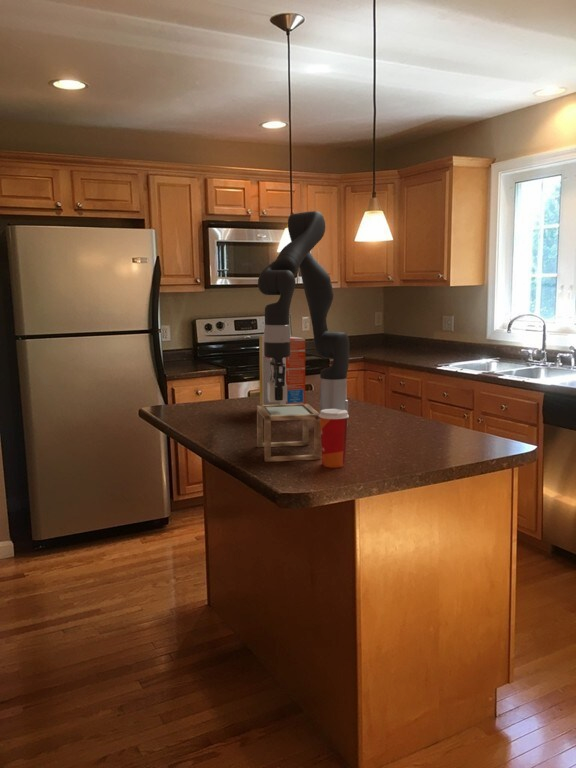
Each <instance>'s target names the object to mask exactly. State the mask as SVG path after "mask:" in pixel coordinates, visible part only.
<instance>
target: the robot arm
mask: <svg viewBox="0 0 576 768" xmlns="http://www.w3.org/2000/svg"><path fill="white" fill-rule="evenodd" d="M287 230H288V235H289V238H290V242H289V243H287V244H286V245H285V246H284V247H283V248H282V249H281V250H280V252H279V253H278V255H277V257H276V259H275V260H274V261H272V262H271V263H270V264H268V265H267V266H266V267H265V268H264V269H263V270H262V271H261V272H260V274H259V277H258V280H257V287H258V290H259V291H260V293H261V294H263V295H266V296H279V299H278V300H277V302H273V303H269V304H267V305H266V306H265V307H264V330H263V335H264V356H265V357H268V358H272V362H270V380H271V382H274V384H275V385H274V386H275V400H276V401H281V400H283V387H284V385H285V364H283V360H282V359H283V358H286V357H289V356H290V337H291V330H290V308H291V304H292V298H293V295H294V292H295V288H296V277H295V275H296V274H297V272H298V270H299V271H300V276H301V280H302V286H303V290H304V294H305V298H306V301H307V306H308V309H309V315H310V320H311V326H312V333H313V340H314V341H313V342H314V347H315V350H316V353H317V355H318V356H319V357H320V358H323V359H332V364H331V365H330V366H328V367H325V368H323V369H321V370H320V373H319V374H320V375H319V376H320V378H319V381H320V382H319V383H320V385H319V387H320V389H319V390H320V391H319V395H320V396H319V399H320V400H319V412H320V411H321V410H324V409H338V410H339V409H342V410H346V411H347V412H348V413H349V400H348V399H347V396H348V394H347V393H348V392H347V388H348V385H347V384H348V382H347V379H348V371H349V370H348V369H349V363H350V361H349V360H350V359H349V358H350V339H349V336H348V335H347V334H348V333H345V332H343V331H342V332H341V331H329V330H328V329H329V328H328V325H327V317H328V314H329V311H330V308H331V306H332V303H333V300H334V290H333V286H332V281H331V276H330V274H329V273H328V271H327V270H326V269H325V268H324V267H323V266H322V265H321V264H320V263H319V262H318V260H317V259H315V257H314V256H313V255H312V253H311V251H312V250H313V249H314V247H316V245H317V244H318V243H319V242H320V241H322V239H323V237H324V236H325V232H326V221H325V218H324V216H323V214H322V213H321V212H320V211H317V210H311V211H304V212H296V213H292V214H290V215H289V216H288V218H287ZM280 380H281V382H280ZM348 425H349V421H348V422H347V428H349V426H348Z"/></svg>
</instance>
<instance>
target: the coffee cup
mask: <svg viewBox="0 0 576 768" xmlns="http://www.w3.org/2000/svg"><path fill="white" fill-rule="evenodd" d="M319 414H320V415H319V417H320V428H321V459H322V460H321V461H322V462H321V463H322V466H323V467H325V468H328V469H329V468H330V469H331V468H332V469H337V468H343V467H344V466H345V463H346V461H345V460H346V447H347V435H348V427H347V422H348V423H349V417H350V415H349V411H348V412H347V411H346V410H342V409H339V410H338V409H324V410H321V411H320V410H319Z"/></svg>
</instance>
